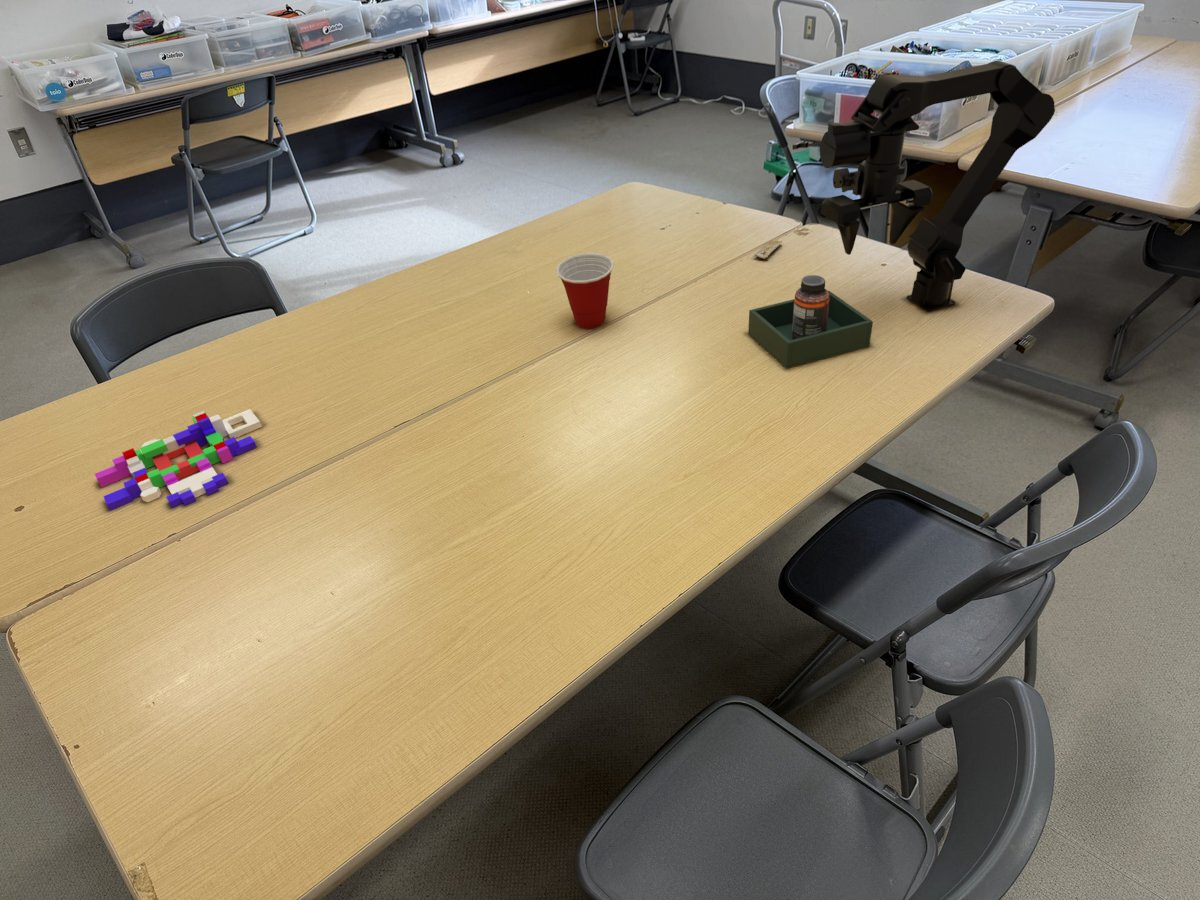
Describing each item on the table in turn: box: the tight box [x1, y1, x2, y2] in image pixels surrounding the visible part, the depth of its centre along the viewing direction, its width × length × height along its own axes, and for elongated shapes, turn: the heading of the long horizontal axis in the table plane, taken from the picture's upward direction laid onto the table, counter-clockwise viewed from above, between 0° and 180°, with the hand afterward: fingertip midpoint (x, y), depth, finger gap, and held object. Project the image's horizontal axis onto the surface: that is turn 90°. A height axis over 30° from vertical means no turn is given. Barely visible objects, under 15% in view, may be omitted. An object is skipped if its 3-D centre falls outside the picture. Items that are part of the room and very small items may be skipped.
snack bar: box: [754, 240, 783, 260], centre depth 172 cm, size 10×2×3 cm
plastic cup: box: [555, 252, 615, 330], centre depth 149 cm, size 11×11×12 cm
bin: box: [747, 290, 874, 369], centre depth 140 cm, size 17×14×5 cm
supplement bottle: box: [792, 274, 830, 339], centre depth 138 cm, size 6×6×11 cm
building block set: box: [94, 408, 263, 511], centre depth 124 cm, size 25×20×4 cm
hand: (870, 248), depth 140 cm, fingers open, 9 cm apart
